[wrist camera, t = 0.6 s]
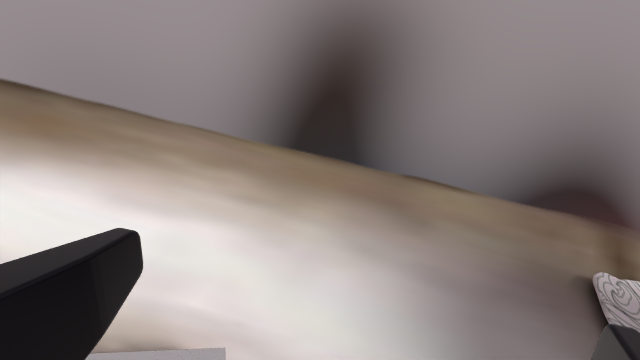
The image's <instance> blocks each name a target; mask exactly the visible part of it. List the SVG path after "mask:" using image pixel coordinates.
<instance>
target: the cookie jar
mask: <svg viewBox="0 0 640 360" xmlns="http://www.w3.org/2000/svg"><path fill="white" fill-rule="evenodd" d="M592 282H593V284H594V287H595V290H596V293H597V296H598V299H599V302H600V304H601V307H602V310H603V312H604V315H605V317H606V319H607V321H608V323H609V324H615V325H620V326H625V327H631V328H634V329H636V330H637V331H638V332H640V281H632V280H619V279H617V278H616V277H614V276H611V275H610V274H607V273H604V272H600V273H597V274H595V275H594V276H593V280H592Z"/></svg>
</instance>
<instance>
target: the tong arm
mask: <svg viewBox="0 0 640 360" xmlns="http://www.w3.org/2000/svg"><path fill="white" fill-rule="evenodd" d="M85 360H226V358H225V348H207V349H184V350H162V351H139V352H117V353H94V354H89V355H88V357H87V358H86V359H85Z"/></svg>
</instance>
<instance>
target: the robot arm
mask: <svg viewBox="0 0 640 360" xmlns="http://www.w3.org/2000/svg"><path fill="white" fill-rule="evenodd" d="M142 270H143V257H142V249H141V241H140V236H139V234H138V233H137V232H136V231H134V230H129V229H123V228H116V229H113V230H110V231H106V232H103V233H100V234H97V235H93V236H90V237H87V238H84V239H81V240H77V241H74V242H71V243H68V244H64V245H61V246H58V247H55V248H51V249H48V250H45V251H42V252H39V253H35V254H32V255H29V256H26V257H22V258H19V259H16V260H13V261H10V262H6V263H3V264H0V360H85V359H86V358H87V357H88V355H89V354H90V353H91V351H92V350H93V349H94V347H95V346H96V345H97V343H98V342H99V341H100V339H101V338H102V336H103V335H104V334H105V332H106V330H107V329H108V327H109V326H110V324H111V323H112V321H113V319H114V318H115V316H116V315H117V313H118V311H119V310H120V308H121V306H122V305H123V303H124V302H125V300H126V298H127V297H128V295H129V293H130V292H131V290H132V289H133V287H134V285H135V284H136V282H137V280H138V279H139V277H140V275H141V273H142ZM591 360H640V332H638V331H637V330H636V329H634V328H631V327H625V326H620V325H615V324H608V325H606V326H605V327H604V329H603V331H602V333H601V335H600V338H599V340H598V343H597V345H596V348H595V350H594V353H593V355H592V358H591Z"/></svg>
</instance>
